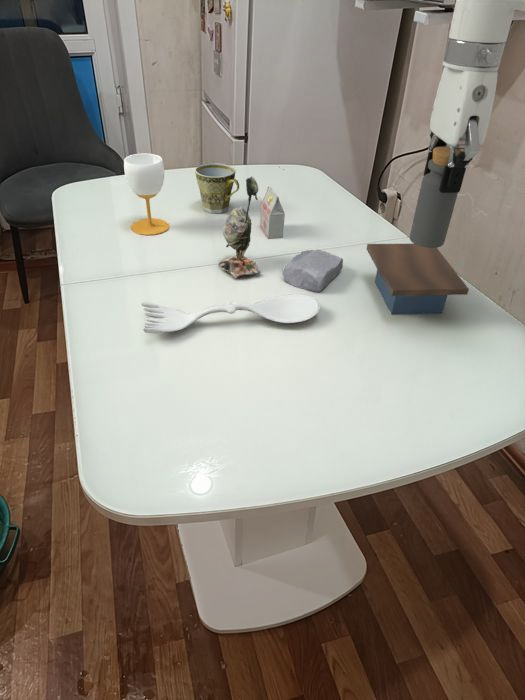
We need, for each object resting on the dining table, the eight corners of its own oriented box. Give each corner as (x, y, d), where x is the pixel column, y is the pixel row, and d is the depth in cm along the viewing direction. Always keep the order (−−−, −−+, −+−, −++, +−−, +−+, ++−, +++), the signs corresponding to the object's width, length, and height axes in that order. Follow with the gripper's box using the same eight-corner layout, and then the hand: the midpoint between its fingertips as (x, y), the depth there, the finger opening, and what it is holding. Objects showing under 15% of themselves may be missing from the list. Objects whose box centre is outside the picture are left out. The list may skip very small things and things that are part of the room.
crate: (420, 281, 107) (427, 255, 103) (442, 313, 98) (450, 286, 94) (374, 281, 106) (379, 255, 102) (391, 314, 97) (397, 287, 93)
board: (432, 248, 106) (433, 243, 105) (467, 294, 92) (469, 289, 91) (366, 249, 105) (367, 243, 104) (391, 296, 90) (393, 290, 90)
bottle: (433, 231, 90) (455, 144, 81) (450, 246, 86) (476, 156, 77) (403, 234, 89) (422, 145, 80) (419, 249, 85) (441, 157, 75)
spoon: (142, 315, 93) (140, 299, 91) (310, 300, 100) (311, 284, 97) (145, 345, 86) (142, 328, 84) (324, 326, 93) (326, 310, 91)
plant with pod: (251, 253, 114) (253, 162, 102) (262, 278, 105) (266, 183, 93) (215, 255, 112) (213, 164, 100) (223, 282, 104) (222, 185, 91)
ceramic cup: (188, 208, 132) (186, 169, 126) (216, 198, 138) (215, 160, 132) (224, 223, 126) (224, 183, 120) (251, 212, 132) (252, 173, 126)
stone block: (278, 288, 106) (323, 294, 101) (276, 267, 103) (321, 271, 98) (304, 267, 114) (346, 271, 109) (302, 246, 112) (345, 250, 107)
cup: (123, 231, 120) (113, 162, 110) (143, 216, 127) (136, 150, 117) (157, 238, 118) (150, 168, 108) (176, 223, 125) (171, 156, 115)
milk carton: (274, 225, 126) (276, 185, 120) (283, 237, 121) (285, 196, 115) (260, 226, 125) (261, 186, 119) (268, 238, 120) (270, 197, 114)
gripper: (531, 67, 64) (487, 205, 75) (471, 46, 77) (442, 166, 89) (474, 66, 63) (438, 206, 74) (424, 45, 77) (400, 166, 88)
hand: (440, 183), depth 81 cm, fingers closed on bottle, 5 cm apart
